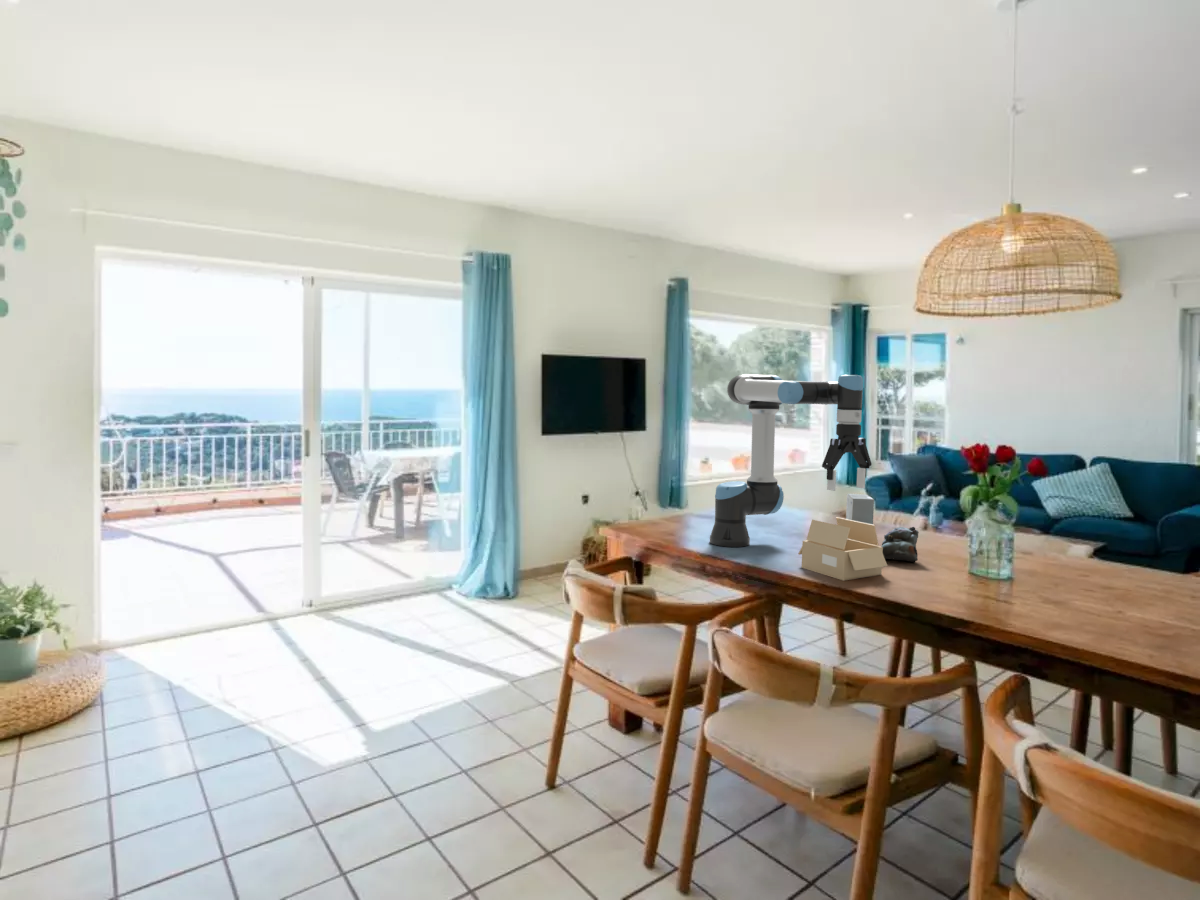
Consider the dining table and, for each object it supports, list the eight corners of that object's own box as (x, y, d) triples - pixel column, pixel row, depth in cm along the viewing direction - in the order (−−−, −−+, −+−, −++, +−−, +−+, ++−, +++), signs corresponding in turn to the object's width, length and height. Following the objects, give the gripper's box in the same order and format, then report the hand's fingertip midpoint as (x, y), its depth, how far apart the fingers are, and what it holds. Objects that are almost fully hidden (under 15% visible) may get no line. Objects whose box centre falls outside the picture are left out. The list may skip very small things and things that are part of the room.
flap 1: (807, 540, 232) (806, 539, 232) (812, 519, 233) (812, 519, 232) (844, 549, 218) (843, 549, 218) (850, 528, 219) (849, 527, 218)
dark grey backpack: (866, 558, 248) (871, 521, 253) (891, 569, 252) (896, 532, 257) (900, 554, 235) (905, 515, 240) (926, 566, 239) (930, 528, 244)
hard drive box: (872, 554, 255) (874, 499, 254) (850, 552, 257) (852, 498, 255) (865, 545, 270) (867, 493, 269) (844, 544, 272) (846, 492, 270)
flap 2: (877, 545, 225) (878, 545, 225) (874, 525, 224) (874, 525, 224) (839, 536, 239) (840, 536, 239) (836, 517, 237) (836, 517, 238)
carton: (794, 565, 236) (795, 538, 235) (831, 560, 244) (832, 534, 243) (851, 583, 215) (852, 554, 214) (890, 577, 222) (891, 549, 222)
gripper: (830, 424, 217) (827, 492, 218) (884, 423, 229) (881, 488, 231) (812, 423, 223) (809, 489, 225) (865, 422, 236) (863, 485, 237)
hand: (846, 489), depth 228 cm, fingers open, 13 cm apart
